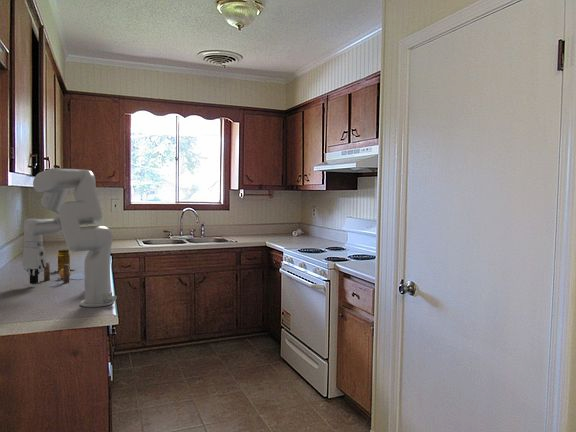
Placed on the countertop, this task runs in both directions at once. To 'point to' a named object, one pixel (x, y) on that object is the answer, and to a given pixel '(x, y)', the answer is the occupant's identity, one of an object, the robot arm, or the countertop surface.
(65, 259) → the condiment
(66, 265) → the right post
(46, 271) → the left post
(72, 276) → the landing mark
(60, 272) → the ball
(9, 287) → the countertop surface
